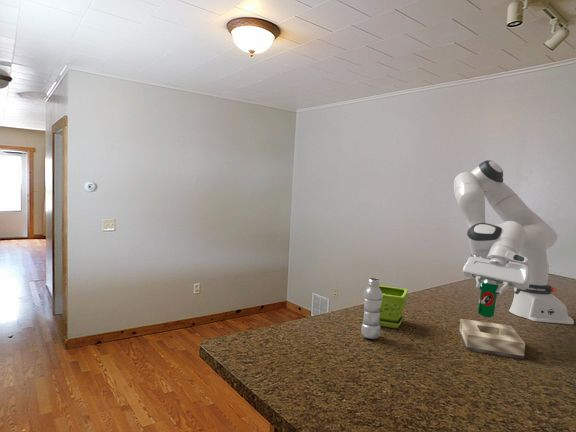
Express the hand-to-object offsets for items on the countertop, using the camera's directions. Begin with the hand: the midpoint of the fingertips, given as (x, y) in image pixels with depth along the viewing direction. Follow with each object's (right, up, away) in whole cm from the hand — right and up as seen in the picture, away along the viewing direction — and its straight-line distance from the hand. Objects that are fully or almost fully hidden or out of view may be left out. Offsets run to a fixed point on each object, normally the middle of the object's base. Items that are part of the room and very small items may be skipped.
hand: (487, 291), depth 120 cm
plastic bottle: (-39, -16, +2) cm, 42 cm away
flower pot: (-30, -16, +17) cm, 38 cm away
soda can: (-1, -8, 0) cm, 8 cm away
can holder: (+1, -18, 0) cm, 18 cm away
